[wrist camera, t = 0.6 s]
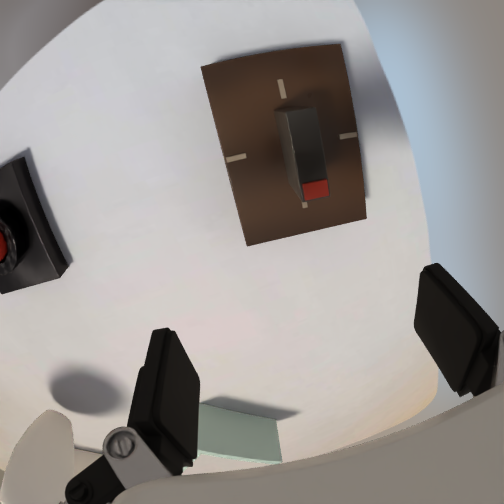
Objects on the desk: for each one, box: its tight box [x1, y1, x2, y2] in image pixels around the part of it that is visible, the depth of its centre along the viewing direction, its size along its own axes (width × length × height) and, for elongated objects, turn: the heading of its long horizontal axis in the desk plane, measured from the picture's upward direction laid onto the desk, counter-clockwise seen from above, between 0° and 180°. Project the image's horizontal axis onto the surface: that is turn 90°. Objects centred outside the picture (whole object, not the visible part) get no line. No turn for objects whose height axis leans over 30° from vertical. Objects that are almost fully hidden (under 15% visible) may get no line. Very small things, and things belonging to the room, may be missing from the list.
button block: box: [0, 157, 68, 294], centre depth 23 cm, size 12×10×4 cm
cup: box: [0, 410, 74, 504], centre depth 29 cm, size 10×10×22 cm
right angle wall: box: [183, 403, 282, 471], centre depth 39 cm, size 12×12×8 cm
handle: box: [274, 106, 330, 203], centre depth 19 cm, size 6×2×5 cm, turn 13°
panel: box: [201, 44, 367, 246], centre depth 22 cm, size 14×10×3 cm
